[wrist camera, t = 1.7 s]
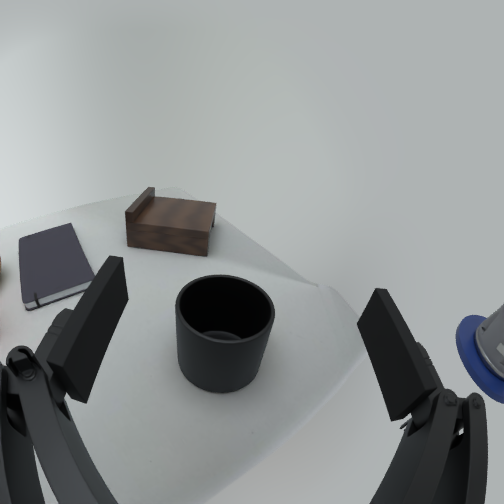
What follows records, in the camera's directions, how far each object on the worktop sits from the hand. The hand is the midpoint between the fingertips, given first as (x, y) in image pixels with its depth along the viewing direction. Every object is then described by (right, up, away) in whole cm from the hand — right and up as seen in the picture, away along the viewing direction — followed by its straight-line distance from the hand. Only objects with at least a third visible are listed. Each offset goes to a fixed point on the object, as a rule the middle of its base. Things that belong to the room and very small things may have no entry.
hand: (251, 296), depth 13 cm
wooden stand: (-15, +6, +39) cm, 42 cm away
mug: (-3, -10, +17) cm, 20 cm away
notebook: (-35, 0, +24) cm, 43 cm away
